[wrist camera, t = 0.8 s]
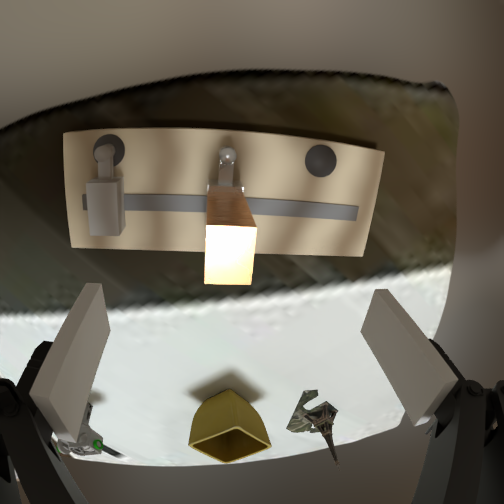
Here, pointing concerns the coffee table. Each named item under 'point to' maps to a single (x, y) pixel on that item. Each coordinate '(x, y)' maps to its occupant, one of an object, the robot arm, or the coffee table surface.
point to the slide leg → (228, 227)
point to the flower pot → (228, 428)
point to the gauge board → (207, 167)
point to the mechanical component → (83, 439)
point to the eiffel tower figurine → (314, 419)
